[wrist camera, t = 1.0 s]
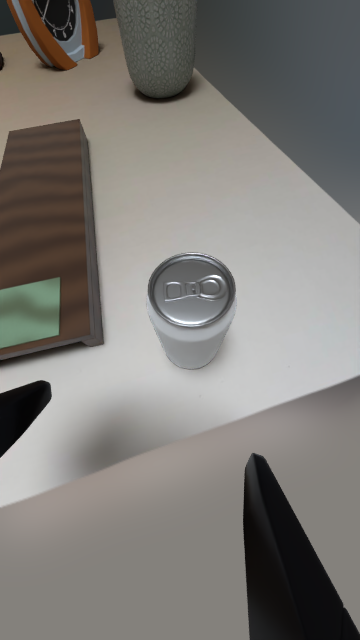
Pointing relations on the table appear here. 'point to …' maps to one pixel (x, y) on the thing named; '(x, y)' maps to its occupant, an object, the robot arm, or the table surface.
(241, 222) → the table surface
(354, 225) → the table surface
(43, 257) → the shelf
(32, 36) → the alarm clock
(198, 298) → the can
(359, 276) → the table surface
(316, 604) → the robot arm
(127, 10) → the planter
